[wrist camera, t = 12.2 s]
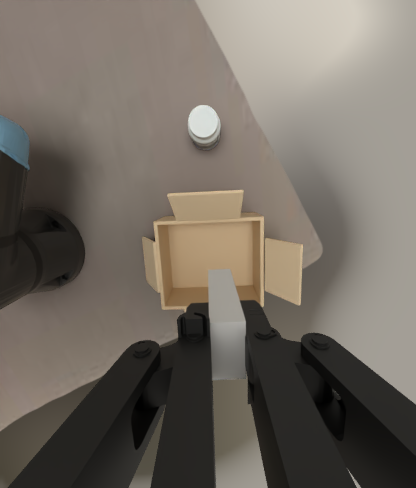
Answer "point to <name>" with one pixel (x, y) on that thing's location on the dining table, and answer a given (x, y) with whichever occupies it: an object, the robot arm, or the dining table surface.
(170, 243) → the carton
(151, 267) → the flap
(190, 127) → the pill bottle
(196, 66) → the dining table surface
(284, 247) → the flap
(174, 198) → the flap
